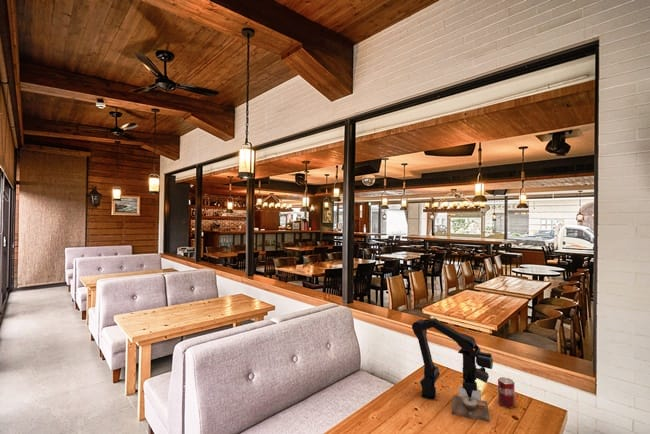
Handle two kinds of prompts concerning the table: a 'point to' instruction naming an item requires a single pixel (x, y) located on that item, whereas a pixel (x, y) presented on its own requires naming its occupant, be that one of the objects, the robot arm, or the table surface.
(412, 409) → the table surface
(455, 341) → the robot arm
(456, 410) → the post base
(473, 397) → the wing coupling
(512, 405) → the soda can
